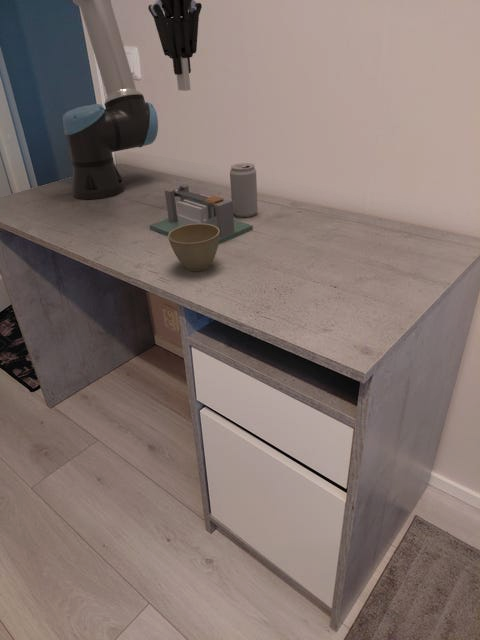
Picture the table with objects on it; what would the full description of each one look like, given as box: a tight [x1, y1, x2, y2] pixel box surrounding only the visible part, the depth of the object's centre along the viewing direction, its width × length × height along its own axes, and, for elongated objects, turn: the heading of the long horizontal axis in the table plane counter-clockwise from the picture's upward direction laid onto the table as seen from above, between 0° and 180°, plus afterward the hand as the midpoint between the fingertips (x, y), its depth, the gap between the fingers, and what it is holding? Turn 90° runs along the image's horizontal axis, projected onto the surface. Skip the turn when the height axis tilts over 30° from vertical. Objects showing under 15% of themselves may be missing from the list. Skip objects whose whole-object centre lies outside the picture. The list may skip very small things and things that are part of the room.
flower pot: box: [167, 223, 220, 272], centre depth 93 cm, size 10×10×7 cm
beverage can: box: [229, 162, 259, 218], centre depth 116 cm, size 6×6×12 cm
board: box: [149, 184, 254, 245], centre depth 110 cm, size 20×15×8 cm
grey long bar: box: [172, 188, 225, 208], centre depth 108 cm, size 16×3×2 cm, turn 45°
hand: (184, 90), depth 110 cm, fingers closed
